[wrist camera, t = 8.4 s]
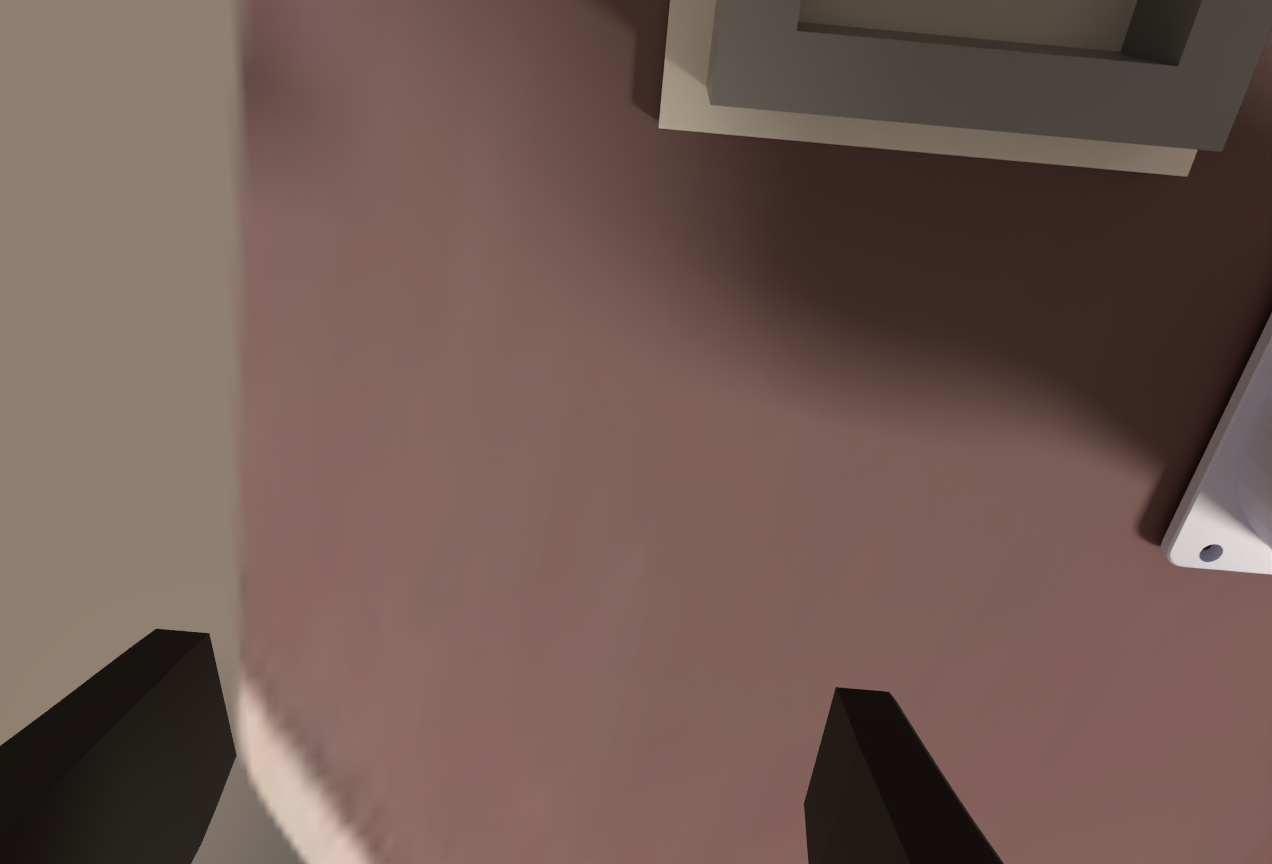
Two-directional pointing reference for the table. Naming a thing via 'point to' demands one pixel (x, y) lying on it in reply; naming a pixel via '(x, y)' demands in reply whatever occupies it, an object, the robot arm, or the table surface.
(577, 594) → the table surface
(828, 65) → the hub plate
